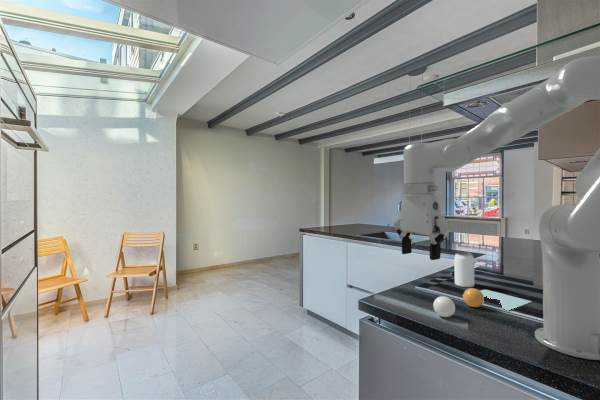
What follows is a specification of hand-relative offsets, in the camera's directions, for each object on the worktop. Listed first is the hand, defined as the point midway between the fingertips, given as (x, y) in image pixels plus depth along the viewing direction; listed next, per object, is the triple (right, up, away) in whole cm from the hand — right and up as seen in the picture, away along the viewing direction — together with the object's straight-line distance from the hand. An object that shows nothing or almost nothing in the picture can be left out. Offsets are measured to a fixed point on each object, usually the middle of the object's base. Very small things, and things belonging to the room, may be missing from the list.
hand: (420, 256), depth 76 cm
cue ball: (+9, -15, +4) cm, 18 cm away
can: (+30, -18, +32) cm, 47 cm away
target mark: (+32, -17, +17) cm, 40 cm away
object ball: (+21, -15, +11) cm, 28 cm away
